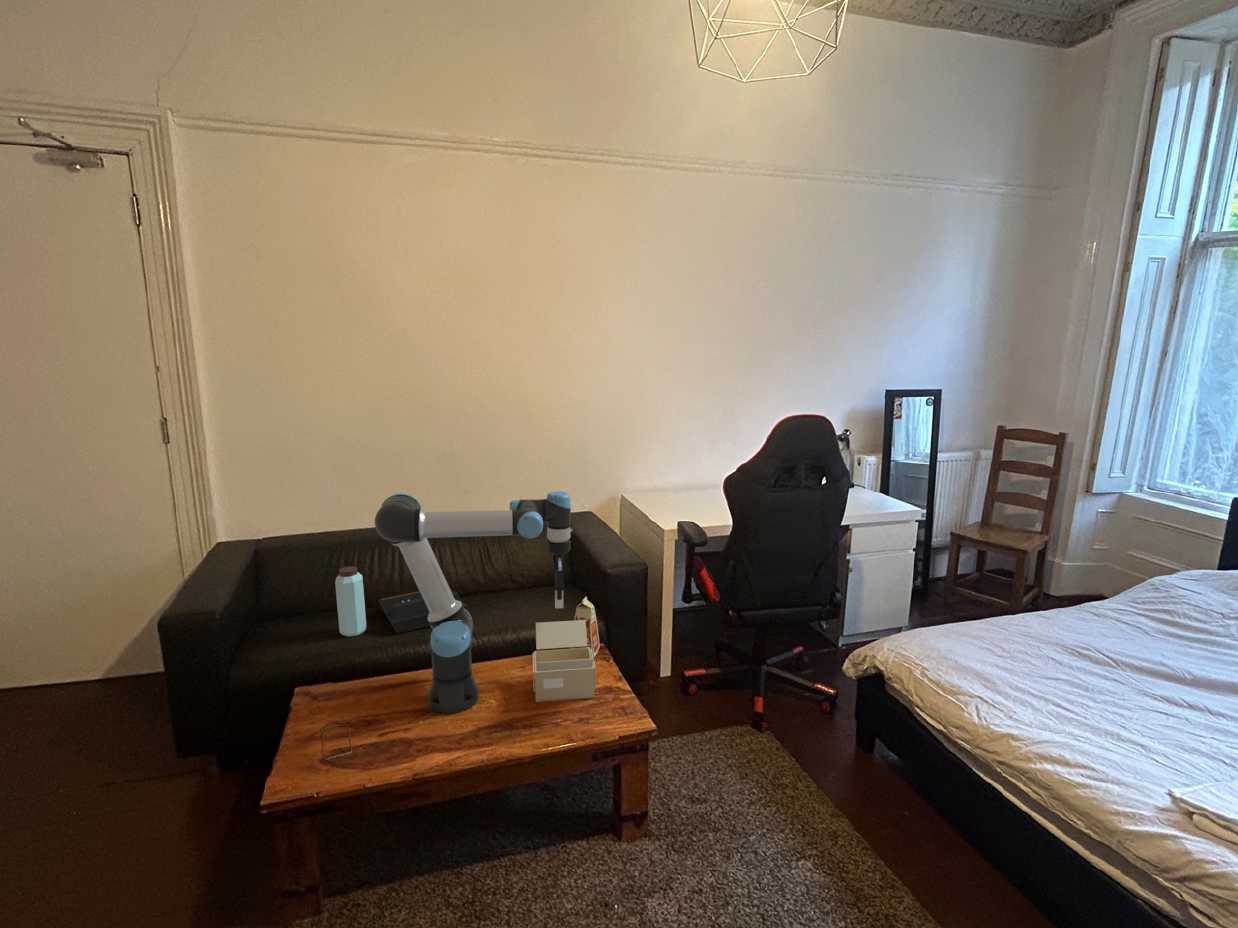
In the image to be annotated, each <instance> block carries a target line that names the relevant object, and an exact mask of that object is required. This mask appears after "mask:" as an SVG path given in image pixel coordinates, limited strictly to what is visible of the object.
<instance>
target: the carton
mask: <svg viewBox="0 0 1238 928" xmlns="http://www.w3.org/2000/svg"><path fill="white" fill-rule="evenodd" d="M591 658H594V657H593V654H592V649H591V652H590V647H587V648H571V647H570V648H555V649H540V650H534V652H532V677H533V678H532V679H533V681H532V683H533V693H534V692H535V693H534V694H535V703H546V702H548V703H549V702H558V701H571V700H572V701H573V700H586V699H594V698H595V688H596V687H597V686H596V679H597V676H596V664H595V660H593V664H592V667H591V668H577V669H563V670H548V671H537V662H547V661H562V660H577V659H591Z"/></svg>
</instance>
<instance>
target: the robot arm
mask: <svg viewBox="0 0 1238 928" xmlns="http://www.w3.org/2000/svg"><path fill="white" fill-rule="evenodd" d="M571 509H572V507H571V495H570V493H568V492H566V491H561V490H560V491H559V490H558V491H555V490H554V491H550V492H548V493H547V495H546V498H544V499H543V498H539V499H536V498H535V499H521V498H520V499H512V500H511V501H510V502H509V509H505V510H504V509H503V510H501V509H500V510H498V509H497V510H462V511H461V510H460V511H458V510H456V511H455V510H454V511H452V510H451V511H425V510H424V508H422V506H421V503H420V501H419V500H418V499H417V498H416V497H415V496H414V495H412V494H410V493H407V492H406V493H405V492H397V493H394V494H392V495H390V496H388V497H387V498H386V499H384V501H383V502H382V503H381V507H380V508H379V509H378V510H377V512H376V513H375V517H374V527H375V530H376V532H377V533H378V535H379V536H380V537H381V538H383V539H385V540H386V541H389V542H390V544H391V545H392V546H395V547H398V548H399V550H400V553H401V554H402V557H403V559H404V562H405V563H406V565H407V567H408V569H409V572H410V574H411V575H412V577H413V580H414V582H415V584H416V587H417V588H418V591H420V593H421V595H422V597H423V599H424V601H425V603H426V605H427V608H428V610H429V612H430V613H429V615H428V618H427V619H428V622H429V624H430V626H429V627H430V628H431V629H432V631H431V633H430V641H429V643H430V648H431V666H432V667H431V668H432V681H431V685H430V688H429V692H428V695H427V699H428V700H427V701H428V706H429V708H430V709H431V710H432V711H434V712H437V713H441V714H455V713H460V712H463V711H465V710H468V709H470V708H472V707H474V705H475V704H476V703H477V702H478V701H479V698H480V695H479V694H480V691H479V687H478V685H477V682H476V680H475V678H474V676H473V675H474V674H473V666H472V665H473V664H472V638H473V633H474V632H473V630H474V621H473V619H472V616H471V613H469V611H468V610H467V609H466V610H465V609H464V607H463V605H462V603H461V602H460V601H457V600H455V599H454V597H453V595H452V592H451V590H452V589H451V588H450V586H449V584H448V582H447V580H446V577H445V575H444V573H443V571H442V569H441V567H440V564H439V562H438V560H437V558H436V556H435V554H434V552H433V549H432V547H431V544H430V543H429V541H428V539H435V538H439V539H440V538H464V537H466V538H467V537H471V538H472V537H494V536H495V537H496V536H522V537H523V538H525V539H529V540H530V539H535V538H536V537H538V536H540V534H541V533H542V532H543V528H544V523H547V526H546V535H547V539H548V540H547V542H546V543H547V545H546V546H547V551H548V553H550V554H553V555H552V562H553V570H554V587H553V590H552V591H554V608H555V609H564V590H565V587H566V584H564V578H565V572H564V571H565V568H566V567H565V566H566V565H565V564H566V553H569V552H570V551H571V549H572V548H571V545H572V544H571V543H572V542H571V541H572V540H571V533H572V532H573V528H571V523H572V522H571V515H572V510H571ZM450 589H451V590H450Z"/></svg>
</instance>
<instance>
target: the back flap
mask: <svg viewBox="0 0 1238 928" xmlns="http://www.w3.org/2000/svg"><path fill="white" fill-rule="evenodd" d="M535 643H536V644H535V645H536V650H535V651H538V650H553V649H569V648H571V647H583V646H587V633H586V620H574V619H573V620H563V621H562V620H558V621H557V620H556V621H546V622H545V621H544V622H542V621H541V622H535Z"/></svg>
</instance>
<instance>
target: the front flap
mask: <svg viewBox="0 0 1238 928" xmlns="http://www.w3.org/2000/svg"><path fill="white" fill-rule="evenodd" d="M594 658H595V657H593V658H591V659H577V660H562V661H547V662H537V671H548V670H563V669H577V668H591V667H592V664H593V660H594ZM594 661H595V660H594Z"/></svg>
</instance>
